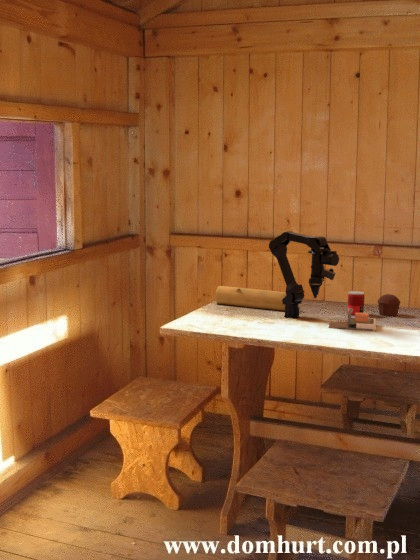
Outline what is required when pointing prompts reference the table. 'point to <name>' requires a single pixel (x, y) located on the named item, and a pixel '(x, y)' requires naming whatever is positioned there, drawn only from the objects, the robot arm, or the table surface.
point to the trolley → (358, 318)
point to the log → (250, 298)
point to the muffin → (388, 305)
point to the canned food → (355, 302)
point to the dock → (354, 325)
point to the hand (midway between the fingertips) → (316, 296)
